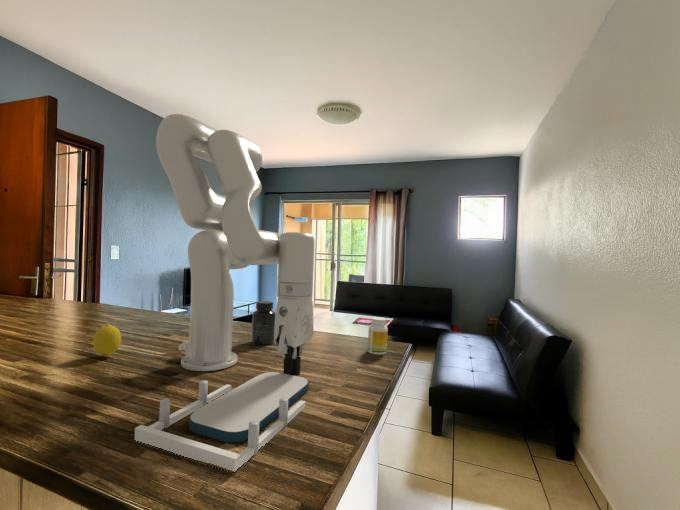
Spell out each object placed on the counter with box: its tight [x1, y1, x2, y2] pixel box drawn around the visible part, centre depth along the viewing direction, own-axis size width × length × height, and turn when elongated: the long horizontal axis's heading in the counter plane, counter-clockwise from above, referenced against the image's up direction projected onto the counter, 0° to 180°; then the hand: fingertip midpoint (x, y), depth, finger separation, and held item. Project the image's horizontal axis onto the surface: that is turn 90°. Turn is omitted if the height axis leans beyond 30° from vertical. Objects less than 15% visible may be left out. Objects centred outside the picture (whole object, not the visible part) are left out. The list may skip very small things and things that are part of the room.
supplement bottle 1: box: [250, 300, 276, 346], centre depth 99 cm, size 7×7×12 cm
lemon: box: [92, 323, 122, 358], centre depth 80 cm, size 6×6×8 cm
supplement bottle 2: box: [367, 316, 389, 356], centre depth 94 cm, size 5×5×10 cm
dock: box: [134, 379, 307, 472], centre depth 53 cm, size 17×20×4 cm
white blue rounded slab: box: [188, 371, 310, 444], centre depth 59 cm, size 24×12×2 cm, turn 159°
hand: (291, 375), depth 72 cm, fingers closed
